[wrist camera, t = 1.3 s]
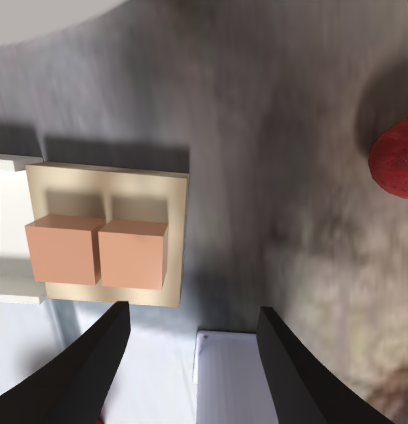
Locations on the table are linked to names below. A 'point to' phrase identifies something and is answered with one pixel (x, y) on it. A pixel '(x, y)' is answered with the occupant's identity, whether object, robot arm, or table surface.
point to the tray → (16, 233)
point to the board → (115, 217)
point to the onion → (391, 160)
